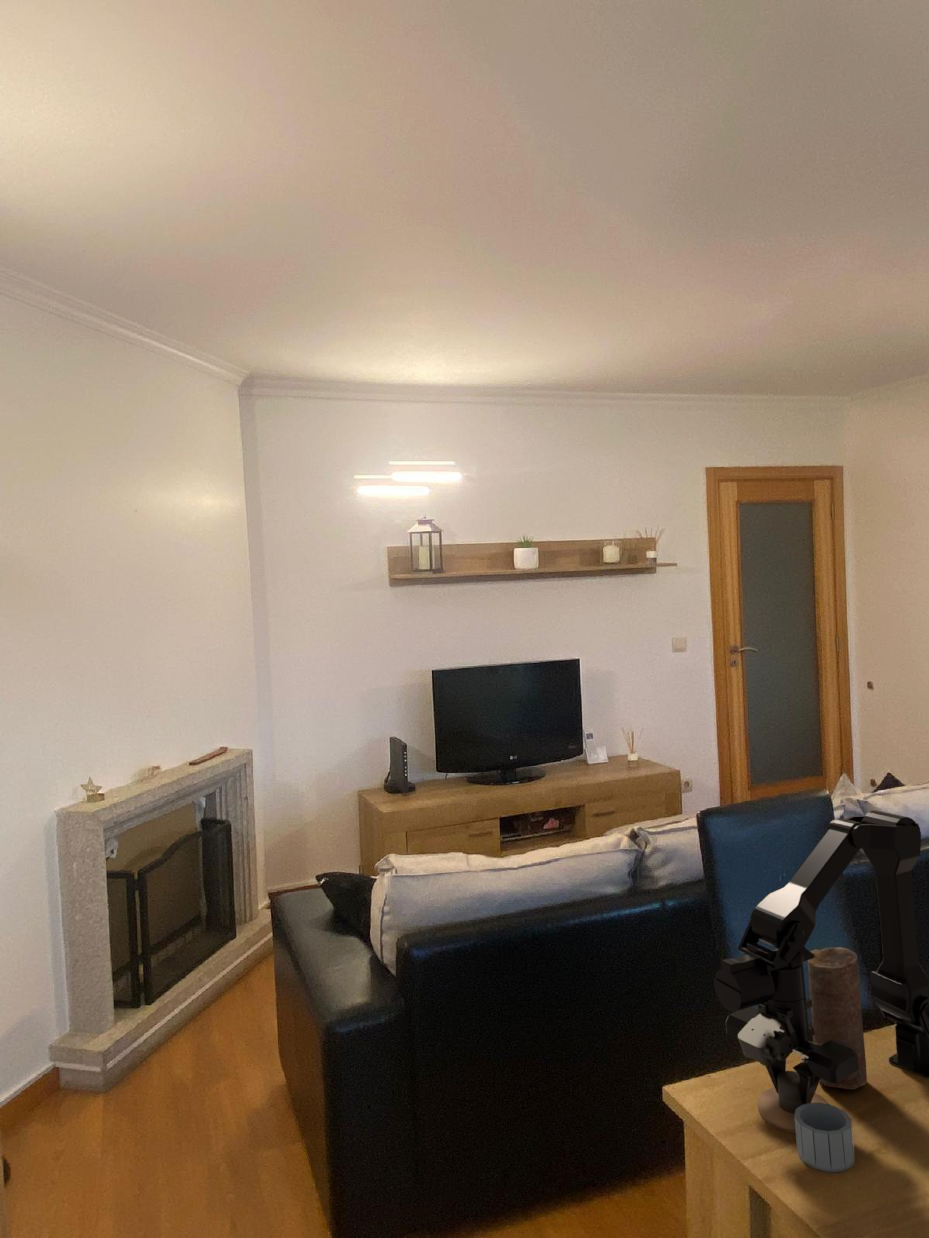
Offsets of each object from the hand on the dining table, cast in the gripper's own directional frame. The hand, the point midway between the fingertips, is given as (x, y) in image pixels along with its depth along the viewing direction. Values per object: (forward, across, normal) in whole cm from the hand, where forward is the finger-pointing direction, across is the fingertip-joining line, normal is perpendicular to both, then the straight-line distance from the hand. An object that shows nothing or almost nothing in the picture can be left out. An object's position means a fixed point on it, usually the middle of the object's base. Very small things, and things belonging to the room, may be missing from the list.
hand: (793, 1099), depth 123 cm
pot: (+2, +8, -5) cm, 10 cm away
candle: (+2, 0, +12) cm, 12 cm away
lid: (+2, 0, 0) cm, 2 cm away
